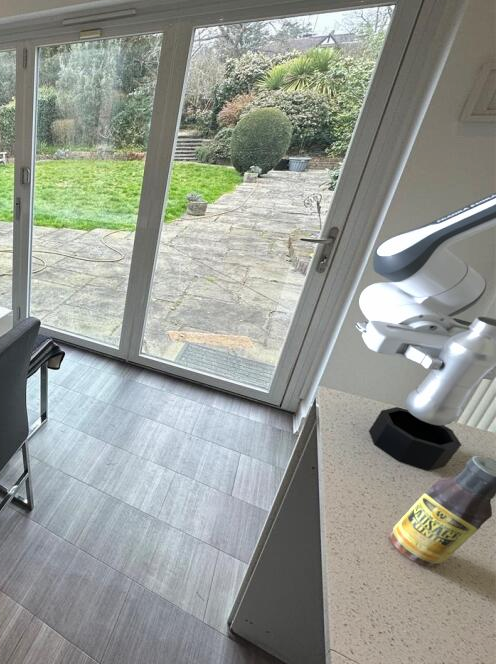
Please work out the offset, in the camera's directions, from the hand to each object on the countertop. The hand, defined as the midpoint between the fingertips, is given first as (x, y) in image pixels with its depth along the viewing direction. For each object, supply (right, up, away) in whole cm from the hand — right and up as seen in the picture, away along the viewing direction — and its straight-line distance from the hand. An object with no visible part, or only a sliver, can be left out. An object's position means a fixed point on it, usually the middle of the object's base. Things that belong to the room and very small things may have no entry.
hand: (462, 371), depth 68 cm
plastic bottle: (0, -10, +6) cm, 11 cm away
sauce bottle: (-10, -29, -2) cm, 31 cm away
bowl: (+9, -19, +18) cm, 27 cm away
